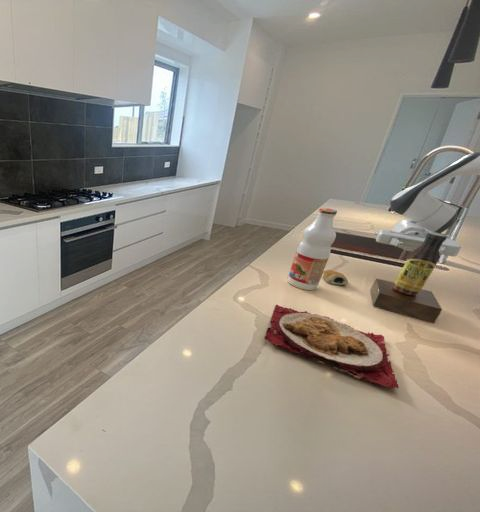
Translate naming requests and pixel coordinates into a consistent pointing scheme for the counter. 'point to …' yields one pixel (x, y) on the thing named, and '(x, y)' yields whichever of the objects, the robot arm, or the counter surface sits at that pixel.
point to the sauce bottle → (419, 265)
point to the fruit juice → (313, 251)
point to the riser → (405, 301)
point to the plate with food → (332, 344)
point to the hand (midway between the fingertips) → (419, 248)
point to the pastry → (334, 277)
